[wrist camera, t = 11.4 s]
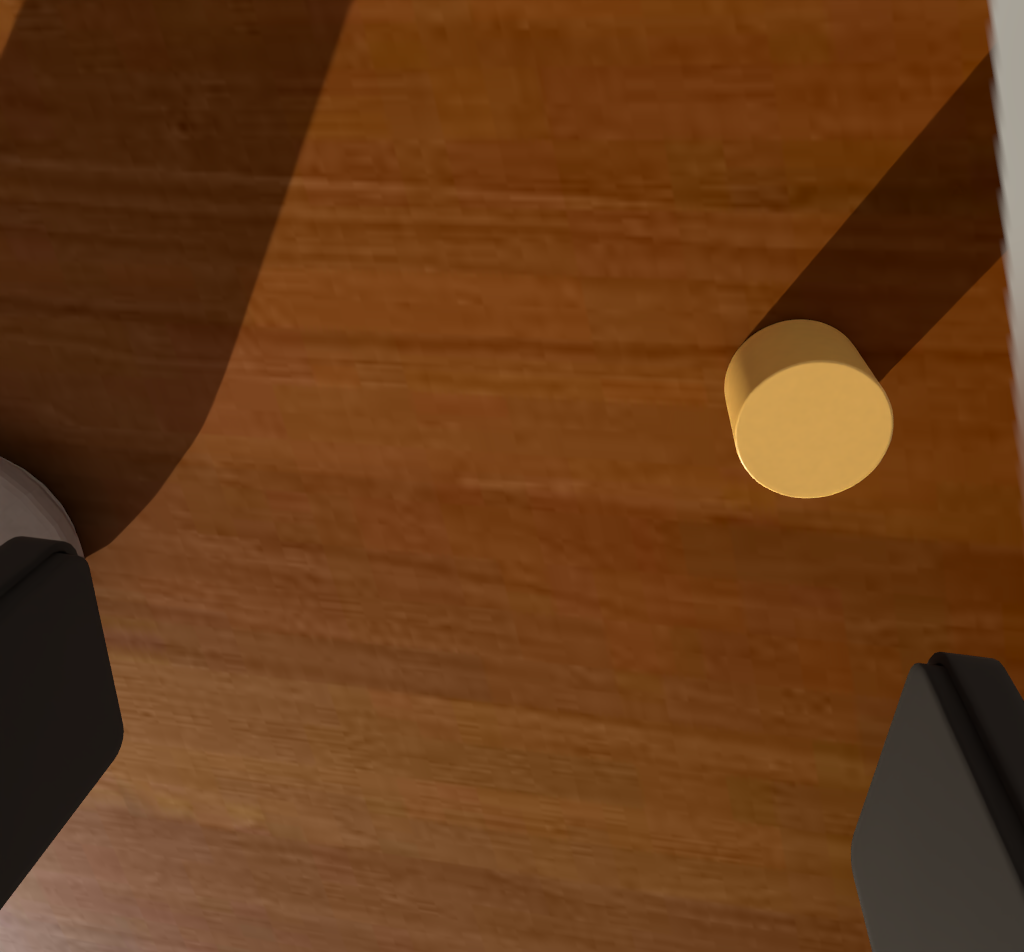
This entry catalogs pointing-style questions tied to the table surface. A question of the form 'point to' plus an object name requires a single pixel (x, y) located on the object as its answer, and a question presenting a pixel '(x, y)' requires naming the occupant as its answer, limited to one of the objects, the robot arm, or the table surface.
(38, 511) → the coffee pot
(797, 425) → the cylinder
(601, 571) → the table surface
